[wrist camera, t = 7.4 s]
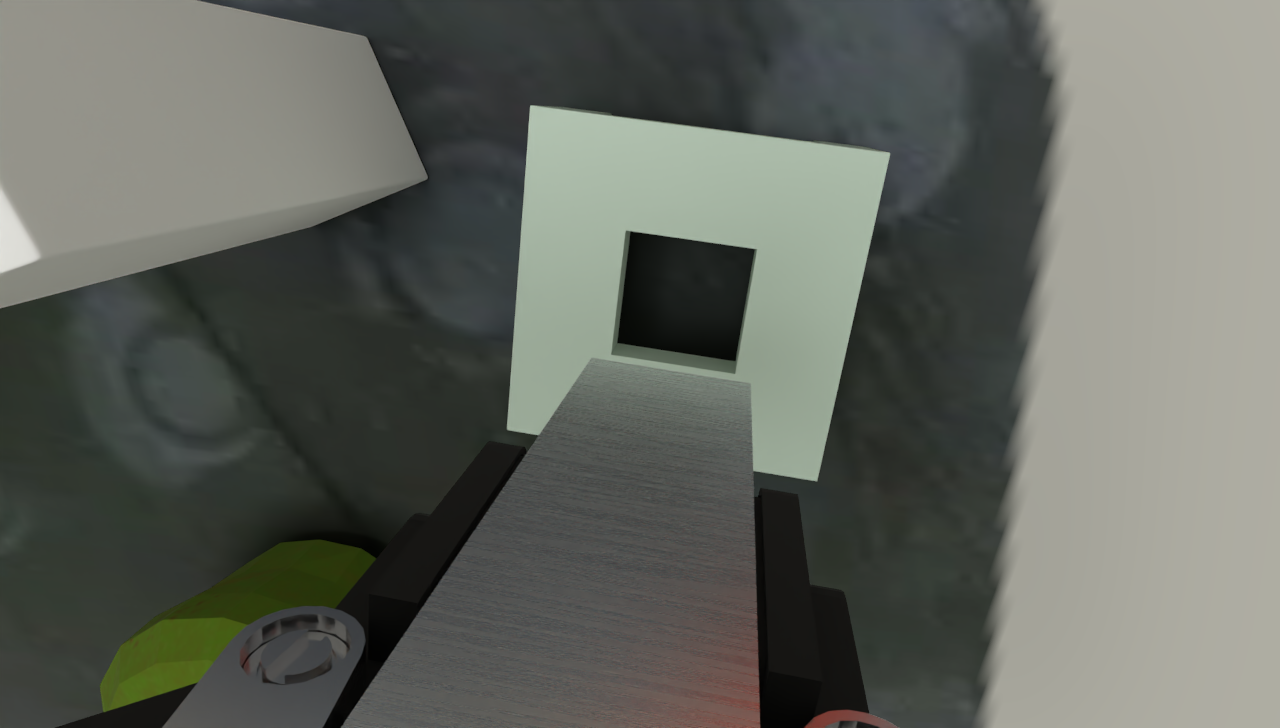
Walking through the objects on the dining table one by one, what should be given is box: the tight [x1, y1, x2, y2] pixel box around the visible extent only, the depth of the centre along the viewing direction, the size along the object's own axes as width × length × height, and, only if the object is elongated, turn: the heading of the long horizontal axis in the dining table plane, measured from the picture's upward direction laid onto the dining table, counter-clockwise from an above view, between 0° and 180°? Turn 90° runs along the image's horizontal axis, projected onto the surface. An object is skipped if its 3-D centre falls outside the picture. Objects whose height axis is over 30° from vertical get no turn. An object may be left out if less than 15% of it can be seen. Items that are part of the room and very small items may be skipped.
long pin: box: [341, 358, 760, 728], centre depth 9 cm, size 3×3×13 cm
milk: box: [0, 0, 428, 308], centre depth 21 cm, size 6×6×22 cm
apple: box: [100, 539, 376, 712], centre depth 34 cm, size 12×12×11 cm
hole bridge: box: [507, 105, 890, 481], centre depth 29 cm, size 12×12×5 cm
